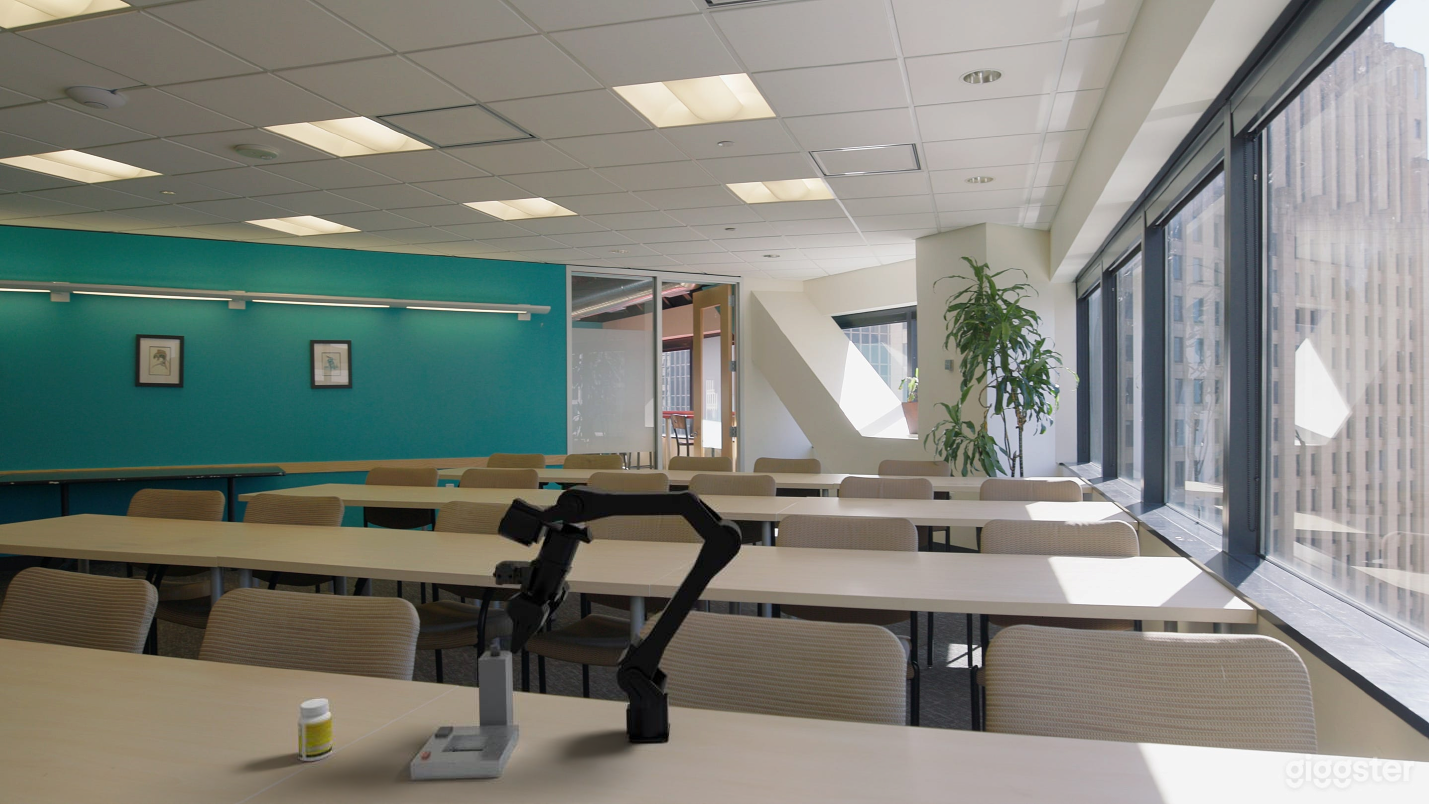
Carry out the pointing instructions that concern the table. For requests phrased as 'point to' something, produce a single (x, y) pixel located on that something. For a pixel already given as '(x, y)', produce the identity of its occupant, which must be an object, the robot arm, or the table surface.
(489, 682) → the plug
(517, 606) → the robot arm
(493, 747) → the socket
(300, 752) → the supplement bottle
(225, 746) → the table surface
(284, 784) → the table surface
